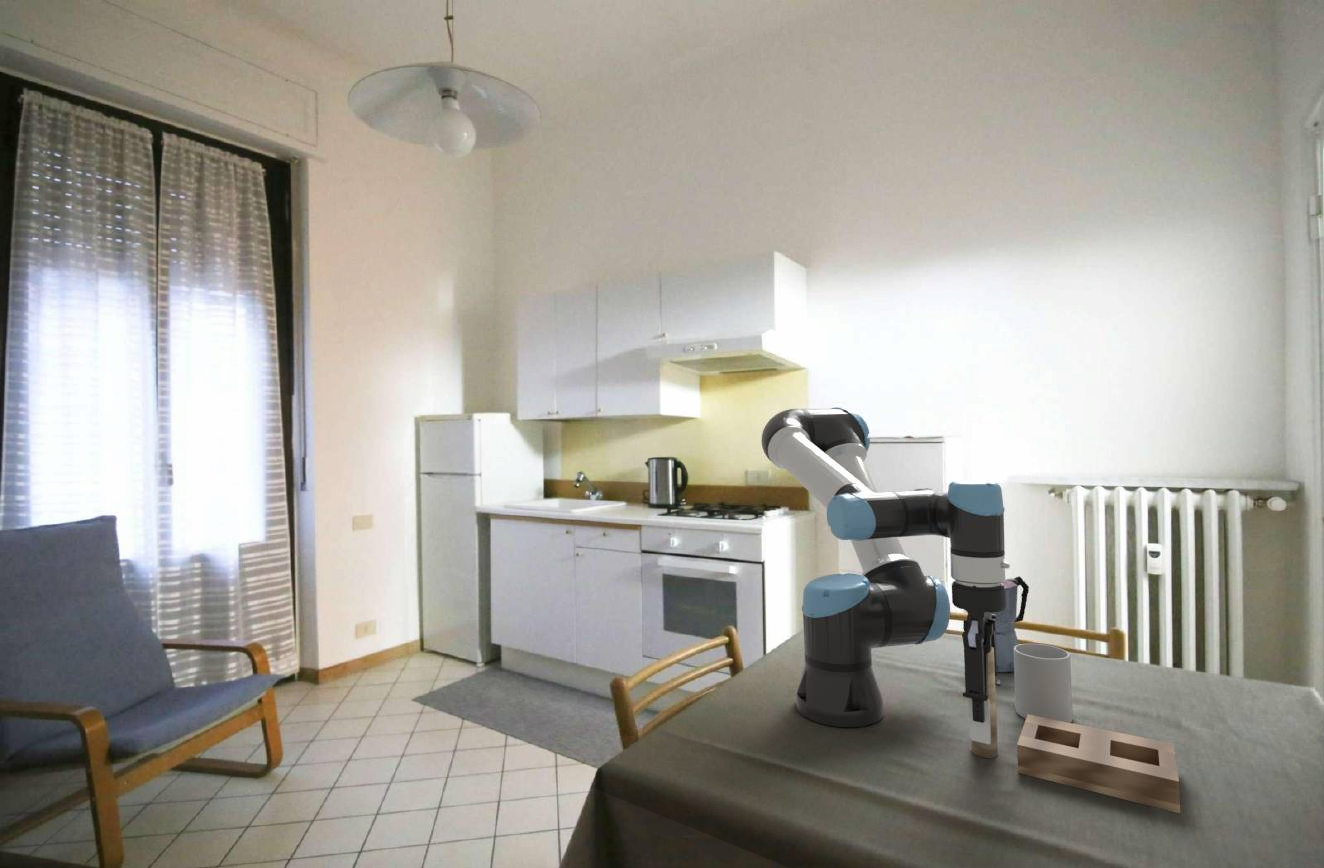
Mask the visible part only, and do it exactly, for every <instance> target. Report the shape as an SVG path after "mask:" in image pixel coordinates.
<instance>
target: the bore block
mask: <svg viewBox="0 0 1324 868" xmlns="http://www.w3.org/2000/svg"><path fill="white" fill-rule="evenodd" d="M1016 750H1017V751H1016V752H1017V753H1016V754H1017V756H1016V757H1017V773H1018V774H1023V775H1026V776H1030V777H1035V778H1038V779H1041V780H1046V781H1051V782H1055V783H1057V784H1060V785H1061V784H1062V785H1066V786H1069V787H1074V788H1076V789H1077V788H1078V789H1081V790H1085V791H1089V792H1093V793H1097V794H1102V795H1106V796H1110V797H1113V798H1118V799H1122V800H1124V801H1125V800H1126V801H1129V802H1133V803H1134V802H1135V803H1138V804H1142V805H1146V806H1149V807H1154V808H1158V809H1161V810H1166V811H1169V812H1174V813H1177V814H1181V795H1180V778H1179V771H1178V766H1177V757H1176V753H1175V752H1176V751H1175V745H1174V743H1172V742H1168V741H1167V742H1166V741H1162V740H1157V739H1152V738H1146V737H1144V736H1143V737H1142V736H1138V735H1133V734H1127V733H1122V732H1118V731H1113V730H1107V729H1103V728H1097V727H1093V726H1092V727H1091V726H1088V725H1087V726H1086V725H1083V724H1077V723H1072V722H1071V723H1068V722H1063V721H1058V720H1053V719H1048V718H1043V717H1038V716H1034V715H1029V714H1028V715H1027V718H1026V719H1025V721H1024V724H1023V727H1022V729H1021V732H1020V735H1019V738H1018V740H1017V744H1016Z"/></svg>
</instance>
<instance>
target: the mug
mask: <svg viewBox="0 0 1324 868" xmlns="http://www.w3.org/2000/svg"><path fill="white" fill-rule="evenodd" d="M1071 663H1072V661H1071V655H1070V653H1069V652H1068V651H1067V650H1064V649H1062V648H1059V647H1057V646H1053V645H1048V644H1040V643H1021V644H1019V645H1017V646H1015V647H1014V672H1013V673H1014V707H1015V711H1016V713H1017V715H1019V716H1020V717H1021V718H1023V719H1025V720H1026V718H1027V715H1028V714H1029V715H1034V716H1038V717H1043V718H1048V719H1053V720H1058V721H1063V722H1068V723H1072V722H1073V720H1074V711H1073V694H1072V693H1073V692H1072V687H1073V686H1072V666H1071V665H1072V664H1071Z"/></svg>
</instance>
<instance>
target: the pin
mask: <svg viewBox="0 0 1324 868" xmlns="http://www.w3.org/2000/svg"><path fill="white" fill-rule="evenodd" d="M983 647H986V646H983ZM995 680H996V678H995V665H994V648H993V647H992V646H991V652H989V653H988V694H987V695H988V698H989V699H990V725H991V744H986V743H981V742H977V741H973V740H970V744H971V745H970V746H971V747H970V750H971V752H972V753H973V754H974V755H976V756H979V757H981V758H986V759H989V758H990V759H994V758H996V757H998V755H999V752H998V751H999V750H998V749H999V748H998V728H997V727H998V726H997V725H998V724H997V719H996V717H997V699H996V698H997V697H996V696H997V693H996V692H995V689H996V686H995Z"/></svg>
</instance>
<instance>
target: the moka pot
mask: <svg viewBox="0 0 1324 868" xmlns="http://www.w3.org/2000/svg"><path fill="white" fill-rule="evenodd" d="M1002 583H1003V584H1004V585H1005V586H1006V595H1007V607H1006V609H1005V610H1003V611H1001V612H994V613H992V614H995V615H996V658H997V672H998V673H1014V647H1015V646H1017V645H1020V644H1019V640H1018V636H1017V632H1016V630H1015V629H1016V626H1015V623H1019V622H1022V621H1024V616H1025V611H1026V606H1027V602H1028V601H1027V600H1028V594H1029V589H1030V586H1029V585H1028V584H1027V582H1026V581H1024V580H1023V578H1022V577H1021V576H1017V577H1014V578H1005V581H1003V582H1002ZM1019 586H1021V587H1022V592H1021V594H1020V595H1021V601H1020V609H1019V613H1018V614H1017V610H1018V609H1017V606H1018V587H1019Z"/></svg>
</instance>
